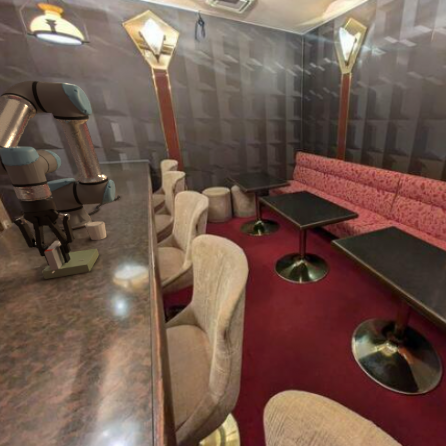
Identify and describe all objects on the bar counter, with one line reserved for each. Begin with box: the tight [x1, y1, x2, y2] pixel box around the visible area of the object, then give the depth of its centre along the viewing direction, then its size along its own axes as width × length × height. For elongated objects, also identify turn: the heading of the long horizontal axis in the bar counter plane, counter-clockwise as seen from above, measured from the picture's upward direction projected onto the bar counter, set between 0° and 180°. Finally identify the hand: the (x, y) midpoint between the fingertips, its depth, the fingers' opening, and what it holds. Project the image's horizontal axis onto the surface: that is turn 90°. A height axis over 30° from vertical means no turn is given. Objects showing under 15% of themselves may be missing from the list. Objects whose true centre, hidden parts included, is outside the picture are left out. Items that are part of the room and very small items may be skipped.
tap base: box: [34, 248, 99, 280], centre depth 88 cm, size 16×15×3 cm
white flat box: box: [44, 240, 65, 270], centre depth 85 cm, size 9×2×7 cm, turn 26°
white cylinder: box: [85, 220, 107, 241], centre depth 112 cm, size 7×7×7 cm
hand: (59, 262), depth 86 cm, fingers open, 4 cm apart
